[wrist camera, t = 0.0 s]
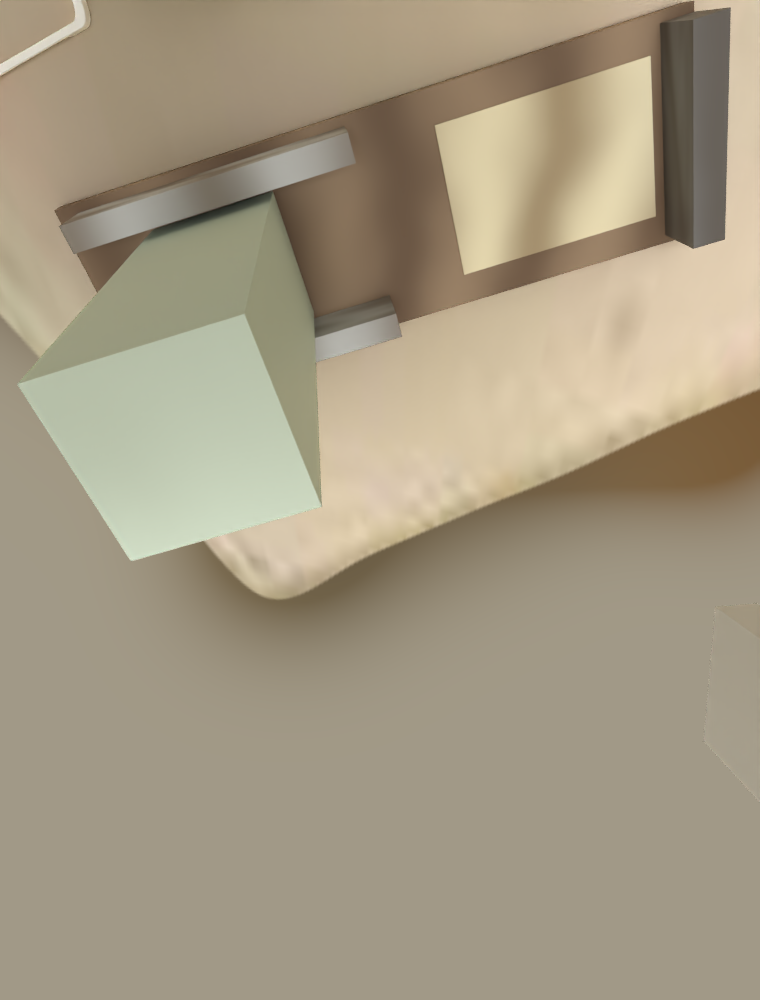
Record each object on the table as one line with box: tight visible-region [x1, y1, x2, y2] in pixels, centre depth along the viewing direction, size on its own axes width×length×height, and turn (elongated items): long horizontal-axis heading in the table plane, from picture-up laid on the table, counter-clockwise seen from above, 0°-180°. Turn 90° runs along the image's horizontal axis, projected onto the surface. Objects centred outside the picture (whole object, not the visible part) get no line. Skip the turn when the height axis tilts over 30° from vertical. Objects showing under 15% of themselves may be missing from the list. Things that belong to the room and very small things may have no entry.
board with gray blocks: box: [55, 1, 731, 362], centre depth 32 cm, size 30×10×4 cm, turn 105°
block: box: [17, 191, 322, 561], centre depth 25 cm, size 6×6×18 cm
